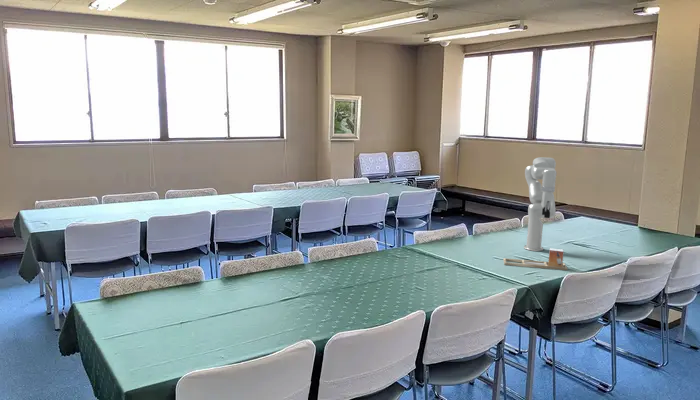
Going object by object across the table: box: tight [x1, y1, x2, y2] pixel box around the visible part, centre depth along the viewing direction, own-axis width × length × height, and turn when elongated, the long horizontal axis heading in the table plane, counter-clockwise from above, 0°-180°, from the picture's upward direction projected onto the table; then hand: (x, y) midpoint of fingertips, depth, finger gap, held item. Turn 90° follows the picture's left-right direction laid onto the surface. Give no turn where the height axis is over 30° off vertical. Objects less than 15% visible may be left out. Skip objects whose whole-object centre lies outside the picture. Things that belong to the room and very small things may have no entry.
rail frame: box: [502, 257, 568, 271], centre depth 322 cm, size 10×36×2 cm, turn 77°
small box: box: [547, 247, 564, 267], centre depth 319 cm, size 8×6×10 cm
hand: (545, 216), depth 329 cm, fingers open, 9 cm apart
